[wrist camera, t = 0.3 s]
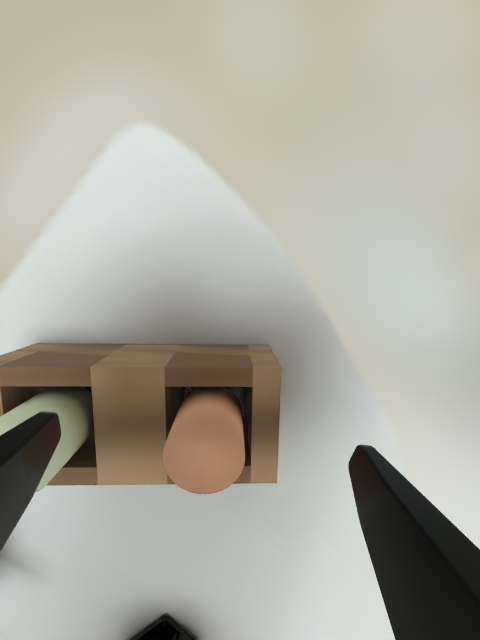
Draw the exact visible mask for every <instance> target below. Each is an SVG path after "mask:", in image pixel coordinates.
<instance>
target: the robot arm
mask: <svg viewBox="0 0 480 640" xmlns="http://www.w3.org/2000/svg"><path fill="white" fill-rule="evenodd" d="M60 438H61V427H60V421H59V416H58V414H57V413H56V412H48V411H41V412H39V413H37V414H35V415H34V416H32V417H30V418H29V419H27V420H25V421H24V422H22V423H20V424H19V425H17V426H15V427H13V428H12V429H10V430H8V431H7V432H5V433H3V434H2V435H0V551H1V550H2V548H3V546H4V545H5V543H6V541H7V540H8V538H9V536H10V534H11V533H12V531H13V529H14V528H15V526H16V524H17V523H18V521H19V519H20V518H21V516H22V514H23V513H24V511H25V509H26V508H27V506H28V504H29V502H30V501H31V499H32V497H33V495H34V493H35V491H36V489H37V487H38V485H39V483H40V481H41V479H42V477H43V475H44V473H45V471H46V468H47V466H48V464H49V462H50V460H51V458H52V456H53V454H54V452H55V449H56V447H57V445H58V443H59V441H60ZM349 473H350V478H351V483H352V487H353V492H354V497H355V502H356V507H357V512H358V516H359V520H360V524H361V528H362V531H363V535H364V538H365V541H366V544H367V548H368V551H369V554H370V558H371V561H372V564H373V567H374V571H375V574H376V577H377V581H378V584H379V587H380V590H381V594H382V597H383V600H384V603H385V607H386V610H387V613H388V617H389V620H390V623H391V626H392V630H393V633H394V636H395V640H480V549H479V548H478V547H476V546H475V545H474V544H473V543H472V542H471V541H470V540H469V539H468V538H467V537H466V536H465V535H464V534H463V533H462V532H461V531H460V530H459V529H458V528H457V527H456V526H455V525H454V524H453V523H451V521H449V520H448V519H447V518H446V517H445V516H444V515H443V514H442V513H441V512H440V511H439V510H438V509H437V508H436V507H435V506H434V505H433V504H432V503H431V502H430V501H429V500H428V499H427V498H426V497H425V496H423V495H422V494H421V493H420V492H419V491H418V490H417V489H416V488H415V487H414V486H413V485H412V484H411V483H410V482H409V481H408V480H407V479H406V478H405V477H404V476H403V475H402V474H401V473H400V472H399V471H397V470H396V469H395V468H394V467H393V466H392V465H391V464H390V463H389V462H388V461H387V460H386V459H385V458H384V457H383V456H382V455H381V454H380V453H379V452H378V451H377V450H376V449H375V448H373V447H372V446H368V445H358V446H357V447H356V449H355V451H354V453H353V455H352V457H351V459H350V461H349ZM131 640H193V639H192V638H191V637H190V636H189V635H188V634H187V633H186V632H185V631H184V630H183V629H182V628H180V627H179V626H178V625H177V624H176V623H175V622H174V621H173V620H172V619H171V618H170V617H168V616H163V617H161V618H160V619H159V620H157V621H156V622H155V623H153V624H152V625H150V626H149V627H148V628H146V629H145V630H144V631H142V632H141V633H140V634H138V635H137V636H135V637H134V638H133V639H131Z"/></svg>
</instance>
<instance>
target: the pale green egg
mask: <svg viewBox="0 0 480 640" xmlns="http://www.w3.org/2000/svg"><path fill="white" fill-rule="evenodd" d="M41 411H48V412H56V413H57V414H58V416H59V421H60V427H61V438H60V441H59V443H58V445H57V447H56V449H55V452H54V454H53V456H52V458H51V460H50V462H49V464H48V466H47V468H46V471H45V473H44V475H43V477H42V479H41V481H40V483H39V485H38V487H37V489H36V491H35V492H37V491H39V490H40V489H42V488H43V487H45V486H46V485H47V484H48V483H49V482H50V480H51V479H52V478H53V477H54V476H55V475H56V474H57V473H58V471H59V470H60V469H61V468H62V467H63V466H64V465H65V464H66V463H67V461H68V460H69V459H70V458H71V457H72V456H73V455H74V454H75V452H76V451H77V450H78V449H79V448H80V447H81V446H82V445H83V444H84V442H85V441H86V440H87V439H88V438H89V437H90V436H91V435H92V433H93V432H94V417H93V402H92V393H91V392H90V391H88V390H87V389H85V388H84V387H82V386H51V387H49V388H47V389H46V390H44V391H42V392H41V393H39V394H37V395H36V396H34V397H32V398H31V399H29V400H27V401H26V402H24V403H22V404H21V405H19V406H17V407H16V408H14V409H12V410H11V411H9V412H7V413H6V414H4V415H2V416H1V417H0V435H2V434H3V433H5V432H7V431H8V430H10V429H12V428H13V427H15V426H17V425H19V424H20V423H22V422H24V421H25V420H27V419H29V418H30V417H32V416H34V415H35V414H37V413H39V412H41Z"/></svg>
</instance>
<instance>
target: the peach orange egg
mask: <svg viewBox="0 0 480 640" xmlns="http://www.w3.org/2000/svg"><path fill="white" fill-rule="evenodd" d="M244 463H245V446H244V434H243V421H242V409H241V404H240V401H239V400H238V398H237V396H236V395H235V394H234V393H233V392H232V391H231V390H230V389H228V388H227V387H195V388H193V389H192V390H190V391H189V392H188V393H187V394H186V396H185V397H184V399H183V401H182V403H181V405H180V408H179V410H178V413H177V415H176V418H175V420H174V423H173V425H172V428H171V430H170V433H169V435H168V438H167V440H166V443H165V446H164V450H163V464H164V467H165V470H166V472H167V474H168V476H169V477H170V478H171V480H172V481H173V482H174V483H175V484H176V485H178V486H179V487H181V488H182V489H184V490H187V491H189V492H192V493H197V494H211V493H216V492H219V491H221V490H223V489H225V488H227V487H229V486H230V485H231V484H232V483H234V482H235V481H236V479H237V478H238V477H239V475H240V474H241V472H242V470H243V467H244Z"/></svg>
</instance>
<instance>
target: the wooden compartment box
mask: <svg viewBox="0 0 480 640" xmlns="http://www.w3.org/2000/svg"><path fill="white" fill-rule="evenodd" d="M280 385H281V366H280V365H279V363H278V361H277V359H276V358H275V356H274V354H273V352H272V350H271V349H270V347H269V345H192V344H33V345H30V346H27V347H24V348H22V349H19V350H16V351H13V352H10V353H7V354H4V355H1V356H0V417H1V416H2V415H4V414H6V413H7V412H9V411H11V410H12V409H14V408H16V407H17V406H19V405H21V404H22V403H24V402H26V401H27V400H29V399H31V398H32V397H34V396H36V395H37V394H39V393H41V392H42V391H44V390H46V389H47V388H49V387H51V386H91V387H92V402H93V417H94V432H93V433H92V435H91V436H90V437H89V438H88V439H87V440H86V441H85V442H84V444H83V445H82V446H81V447H80V448H79V449H78V450H77V451H76V452H75V454H74V455H73V456H72V457H71V458H70V459H69V460H68V461H67V463H66V464H65V465H64V466H63V467H62V468H61V469H60V470H59V471H58V473H57V474H56V475H55V476H54V477H53V478H52V479H51V480H50V482H49V483H48V484H47V485H137V484H175V483H174V482H173V481H172V480H171V478H170V477H169V476H168V474H167V472H166V470H165V467H164V464H163V450H164V446H165V443H166V440H167V438H168V435H169V433H170V430H171V428H172V425H173V423H174V420H175V418H176V415H177V413H178V410H179V408H180V405H181V403H182V387H247V406H246V420H242V421H243V434H244V446H245V463H244V467H243V470H242V472H241V474H240V475H239V477H238V478H237V479H236V481H235V482H234V483H232V484H237V483H277V466H278V439H279V412H280Z"/></svg>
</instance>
